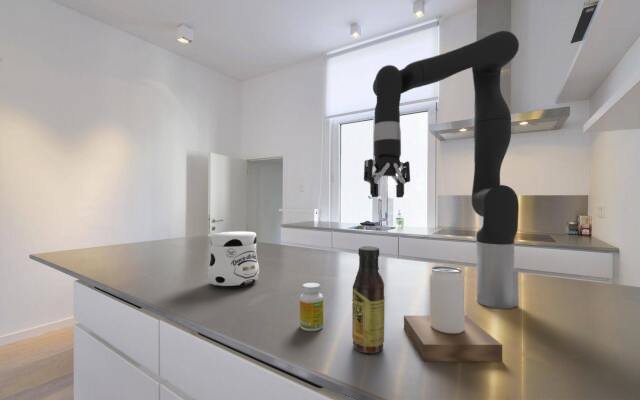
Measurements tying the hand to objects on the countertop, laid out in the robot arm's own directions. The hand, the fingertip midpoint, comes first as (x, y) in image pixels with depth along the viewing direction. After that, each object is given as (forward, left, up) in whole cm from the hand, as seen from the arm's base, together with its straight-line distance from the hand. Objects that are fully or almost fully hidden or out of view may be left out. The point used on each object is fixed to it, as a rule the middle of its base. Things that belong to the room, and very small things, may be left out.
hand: (387, 197), depth 86 cm
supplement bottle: (+21, +16, -30) cm, 40 cm away
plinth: (-7, +24, -30) cm, 39 cm away
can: (-7, +24, -27) cm, 37 cm away
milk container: (+50, -20, -30) cm, 62 cm away
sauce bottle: (+9, +26, -30) cm, 41 cm away
